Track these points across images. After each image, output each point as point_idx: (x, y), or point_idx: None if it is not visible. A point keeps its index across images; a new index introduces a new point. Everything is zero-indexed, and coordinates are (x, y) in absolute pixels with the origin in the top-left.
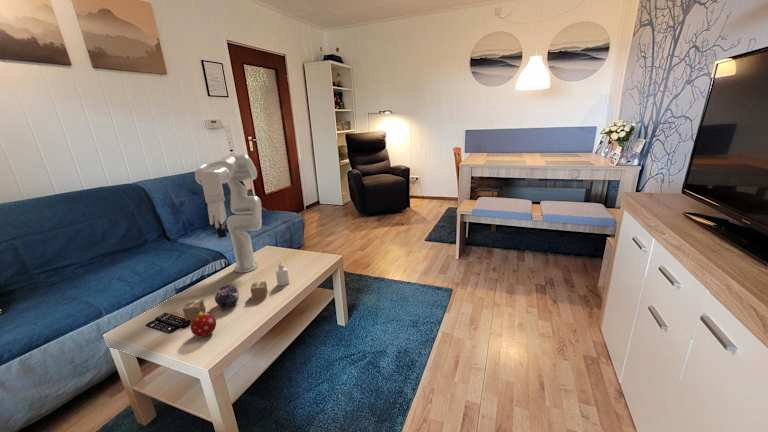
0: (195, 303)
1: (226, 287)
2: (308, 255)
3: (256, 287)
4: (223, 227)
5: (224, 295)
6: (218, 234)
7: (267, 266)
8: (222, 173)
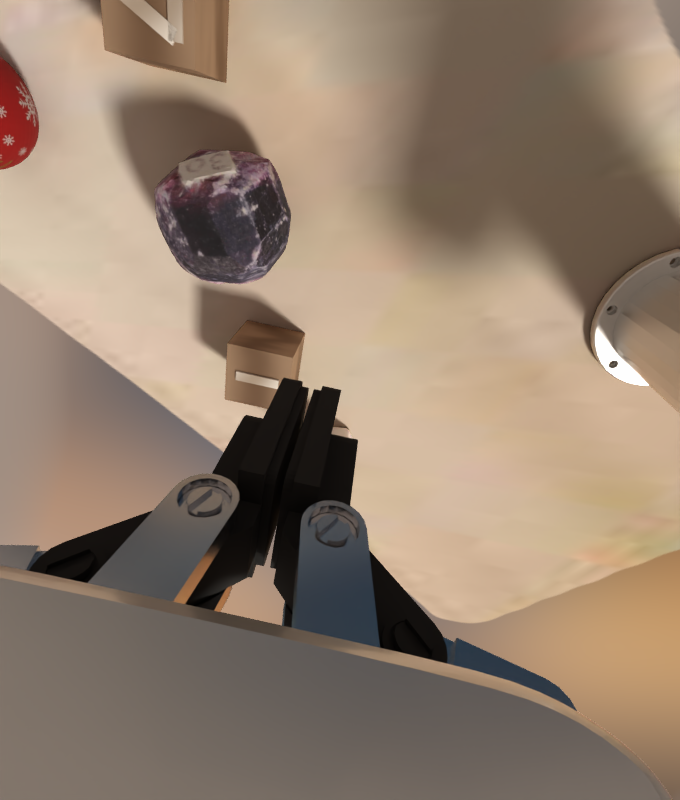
0: (142, 19)
1: (193, 239)
2: (560, 569)
3: (233, 369)
4: (221, 591)
5: (157, 219)
6: (269, 411)
7: (583, 417)
8: None
